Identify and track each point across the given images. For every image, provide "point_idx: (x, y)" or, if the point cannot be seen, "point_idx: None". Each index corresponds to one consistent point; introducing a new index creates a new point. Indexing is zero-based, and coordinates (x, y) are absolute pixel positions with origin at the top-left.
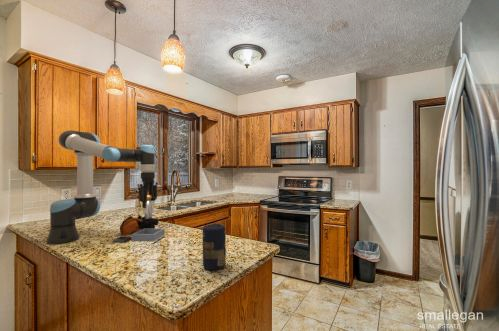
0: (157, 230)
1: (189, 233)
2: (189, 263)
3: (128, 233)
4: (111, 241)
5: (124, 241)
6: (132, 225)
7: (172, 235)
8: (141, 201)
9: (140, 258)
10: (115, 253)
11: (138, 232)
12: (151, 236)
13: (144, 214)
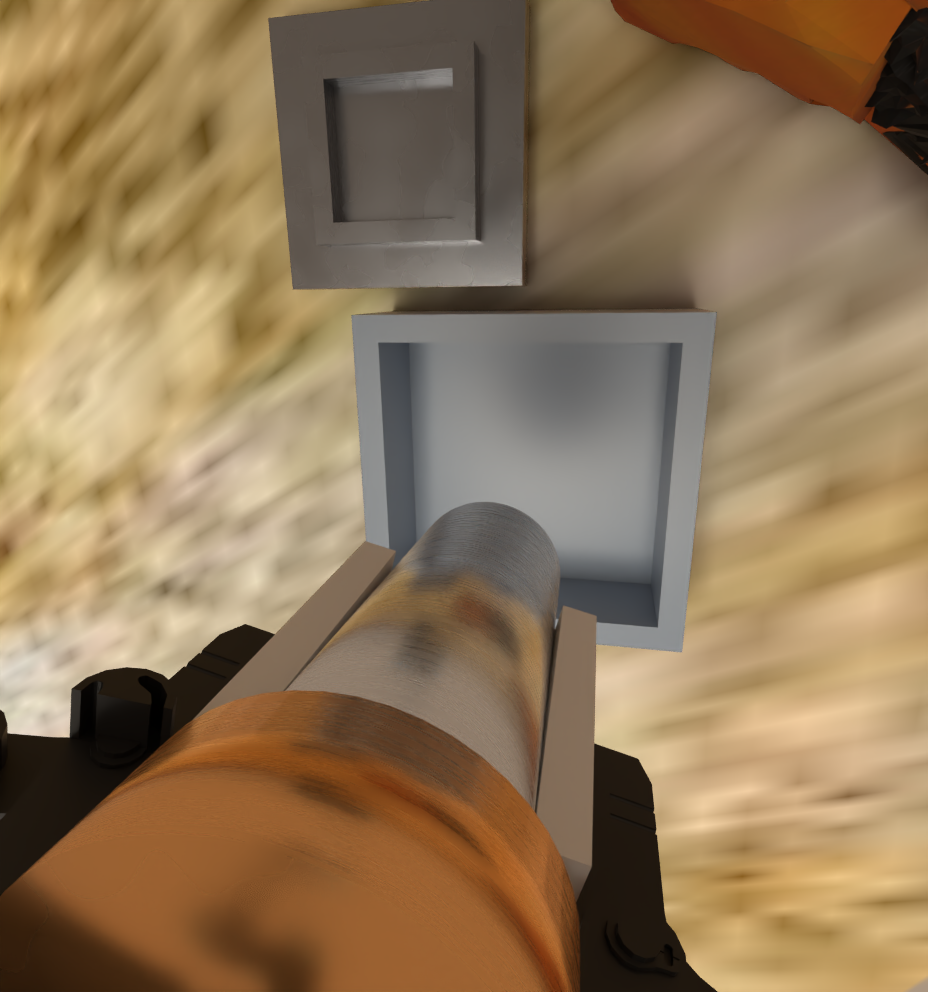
0: (662, 550)
1: (833, 827)
2: None
3: (672, 39)
4: (319, 30)
5: (329, 245)
6: (754, 37)
7: (748, 662)
8: (23, 753)
9: (71, 617)
10: (100, 341)
11: (494, 341)
12: None
13: (427, 535)
